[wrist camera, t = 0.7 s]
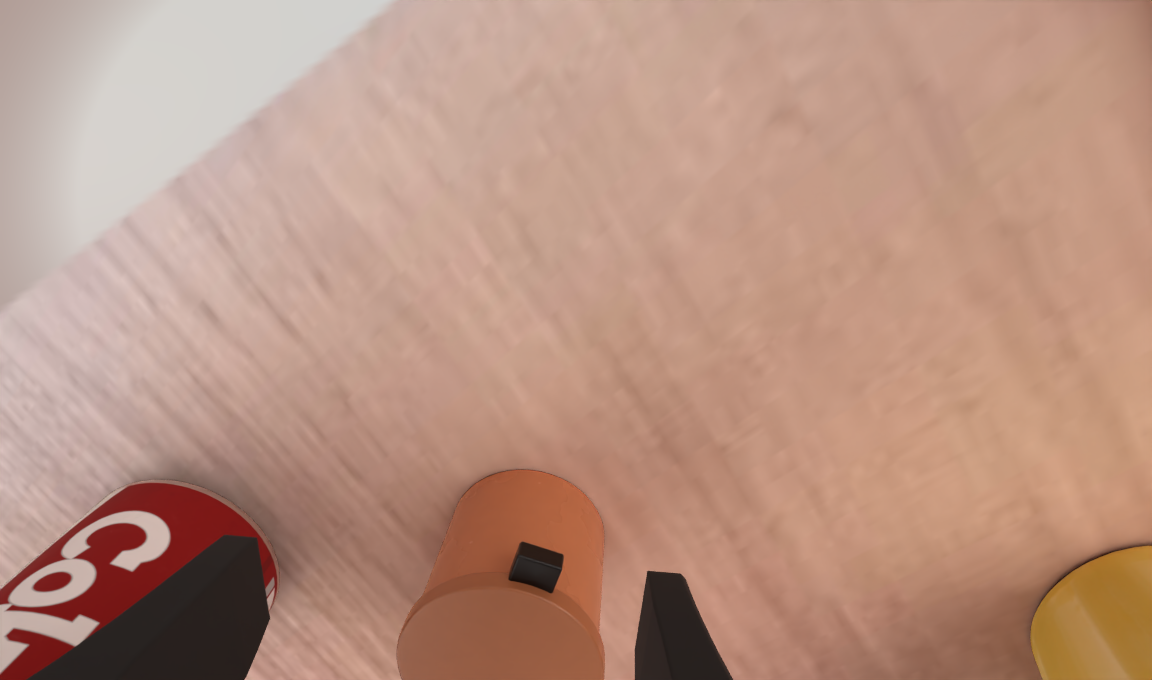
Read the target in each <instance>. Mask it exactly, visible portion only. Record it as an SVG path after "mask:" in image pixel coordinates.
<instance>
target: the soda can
mask: <svg viewBox="0 0 1152 680" xmlns="http://www.w3.org/2000/svg"><path fill="white" fill-rule="evenodd" d="M223 535H234V536H246V537H257V539H258V545H259V552H260V558H261V565H262V571H263V577H264V584H265V590H266V596H267V603H268V609H269V610H270V609H271V607H272V605H273V604H274V602H275V599H276V597H277V594H278V589H279V583H280V572H279V566H278V562H277V558H276V555H275V553H274V550H273V548H272V546H271V544H270V542H269V540H268V539H267V537H266V536H265V534H264V533H263V531H262V530H261V529H260V527H259V526H258V525H257V524H256V523H255V522H254V521H253V520H252V519H251V518H250V517H249V516H248V515H247V514H246V513H245V512H244V511H242V510H241V509H240V508H239V507H237V506H236V505H235V504H233V503H232V502H230V501H229V500H227V499H225V498H224V497H222V496H220V495H218V494H216V493H214V492H212V491H210V490H207V489H205V488H202V487H199V486H196V485H193V484H189V483H185V482H180V481H174V480H144V481H138V482H134V483H131V484H127V485H125V486H123V487H121V488H118V489H117V490H115V491H113V492H112V493H110V494H109V495H108V496H106V497H105V498H104V499H103V500H102V501H100V502H99V503H98V504H97V505H96V506H95V507H93V508H92V509H91V510H90V511H89V512H88V513H87V514H85V515H84V516H83V517H82V518H81V519H80V520H78V521H77V522H76V523H75V524H74V525H73V526H71V527H70V528H69V529H68V530H67V531H66V532H65V533H63V534H62V535H61V536H60V537H59V538H58V539H56V540H55V541H54V542H53V543H52V544H51V545H49V546H48V547H47V548H46V549H45V550H44V551H42V552H41V553H40V554H39V555H38V556H37V557H36V558H34V559H33V560H32V561H31V562H30V563H29V564H27V565H26V566H25V567H24V568H23V569H22V570H20V571H19V572H18V573H17V574H16V575H15V576H13V577H12V578H11V579H10V580H9V581H8V582H7V583H5V584H4V585H3V586H2V587H1V588H0V680H26V679H28V678H29V677H31V676H32V675H34V674H35V673H37V672H39V671H40V670H42V669H43V668H45V667H46V666H48V665H49V664H51V663H52V662H54V661H55V660H57V659H58V658H60V657H61V656H62V655H64V654H65V653H67V652H68V651H70V650H71V649H72V648H74V647H75V646H77V645H78V644H80V643H81V642H82V641H84V640H85V639H87V638H88V637H89V636H91V635H92V634H94V633H95V632H97V631H98V630H99V629H101V628H102V627H104V626H105V625H107V624H108V623H109V622H111V621H112V620H114V619H115V618H116V617H118V616H119V615H120V614H122V613H123V612H124V611H126V610H127V609H128V608H130V607H131V606H132V605H134V604H135V603H136V602H138V601H139V600H140V599H142V598H143V597H144V596H146V595H147V594H148V593H149V592H151V591H152V590H153V589H155V588H156V587H157V586H159V585H160V584H161V583H162V582H164V581H165V580H166V579H168V578H169V577H170V576H171V575H173V574H174V573H175V572H177V571H178V570H179V569H180V568H182V567H183V566H184V565H186V564H187V563H188V562H189V561H191V560H192V559H193V558H195V557H196V556H197V555H198V554H200V553H201V552H202V551H204V550H205V549H206V548H207V547H209V546H210V545H211V544H213V543H214V542H215V541H217V540H218V539H219V538H221V537H222V536H223Z"/></svg>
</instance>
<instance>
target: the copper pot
mask: <svg viewBox="0 0 1152 680" xmlns="http://www.w3.org/2000/svg"><path fill="white" fill-rule="evenodd" d="M603 555H604V529H603V524H602V521H601V518H600V516H599V514H598V511H597V509H596V508H595V507H594V505H593V504H592V502H591V501H590V500H589V499H588V497H587V496H586V495H585V494H584V493H583V492H581V491H580V490H579V489H578V488H577V487H575V486H574V485H572V484H571V483H569V482H567V481H565V480H563V479H561V478H559V477H557V476H554V475H551V474H548V473H544V472H540V471H533V470H510V471H505V472H500V473H497V474H494V475H491V476H489V477H487V478H484V479H482V480H481V481H479V482H478V483H476V484H475V485H473V486H472V487H471V488H470V489H469V490H468V491H467V492H466V493H465V494H464V495H463V497H462V498H461V500H460V501H459V503H458V505H457V507H456V510H455V512H454V515H453V517H452V520H451V522H450V525H449V528H448V530H447V533H446V536H445V538H444V541H443V544H442V546H441V549H440V551H439V554H438V557H437V559H436V562H435V565H434V567H433V570H432V573H431V575H430V578H429V580H428V583H427V586H426V588H425V591H424V594H423V596H422V597H421V598H420V599H419V600H418V601H417V602H416V603H415V605H414V606H413V607H412V609H411V610H410V612H409V614H408V615H407V618H406V620H405V623H404V625H403V628H402V630H401V633H400V636H399V639H398V644H397V663H398V669H399V672H400V675H401V678H402V680H604V669H605V652H604V646H603V642H602V639H601V636H600V634H599V626H600V608H601V591H602V573H603Z"/></svg>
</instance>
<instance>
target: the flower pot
mask: <svg viewBox="0 0 1152 680" xmlns="http://www.w3.org/2000/svg"><path fill="white" fill-rule="evenodd" d="M1030 640H1031V648H1032V652H1033V655H1034V658H1035V661H1036V663H1037V666H1038V669H1039V672H1040V674H1041V677H1042V680H1152V546H1141V547H1133V548H1129V549H1124V550H1120V551H1115V552H1112V553H1109V554H1107V555H1104V556H1102V557H1099V558H1097V559H1094V560H1092V561H1090V562H1088V563H1086V564H1084V565H1082V566H1081V567H1079V568H1077V569H1075V570H1074V571H1072V572H1071V573H1070V574H1068V575H1067V576H1066V577H1064V578H1063V579H1062V580H1061V581H1060V582H1059V583H1057V584H1056V585H1055V586H1054V587H1053V588H1052V589H1051V590H1050V591H1049V592H1048V594H1047V595H1046V596H1045V598H1044V599H1043V600H1042V602H1041V603H1040V605H1039V607H1038V609H1037V611H1036V613H1035V615H1034V618H1033V621H1032V625H1031V637H1030Z"/></svg>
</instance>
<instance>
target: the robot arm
mask: <svg viewBox="0 0 1152 680" xmlns="http://www.w3.org/2000/svg"><path fill="white" fill-rule="evenodd" d="M269 620H270V615H269V609H268V603H267V596H266V590H265V584H264V577H263V571H262V565H261V558H260V552H259V545H258V539H257V537H246V536H234V535H223V536H222V537H221V538H219V539H218V540H217V541H215V542H214V543H213V544H211V545H210V546H209V547H207V548H206V549H205V550H204V551H202V552H201V553H200V554H198V555H197V556H196V557H195V558H193V559H192V560H191V561H189V562H188V563H187V564H186V565H184V566H183V567H182V568H180V569H179V570H178V571H177V572H175V573H174V574H173V575H171V576H170V577H169V578H168V579H166V580H165V581H164V582H162V583H161V584H160V585H159V586H157V587H156V588H155V589H153V590H152V591H151V592H149V593H148V594H147V595H146V596H144V597H143V598H142V599H140V600H139V601H138V602H136V603H135V604H134V605H132V606H131V607H130V608H128V609H127V610H126V611H124V612H123V613H122V614H120V615H119V616H118V617H116V618H115V619H114V620H112V621H111V622H109V623H108V624H107V625H105V626H104V627H102V628H101V629H99V630H98V631H97V632H95V633H94V634H92V635H91V636H89V637H88V638H87V639H85V640H84V641H82V642H81V643H80V644H78V645H77V646H75V647H74V648H72V649H71V650H70V651H68V652H67V653H65V654H64V655H62V656H61V657H60V658H58V659H57V660H55V661H54V662H52V663H51V664H49V665H48V666H46V667H45V668H43V669H42V670H40V671H39V672H37V673H35V674H34V675H32V676H31V677H29V678H28V679H26V680H244V679H245V677H246V676H247V674H248V671H249V669H250V667H251V664H252V662H253V660H254V657H255V655H256V653H257V650H258V648H259V645H260V643H261V640H262V638H263V635H264V633H265V630H266V627H267V625H268V622H269ZM635 680H733V679H732V677H731V675H730V673H729V671H728V669H727V667H726V666H725V664H724V662H723V660H722V658H721V656H720V654H719V653H718V651H717V649H716V647H715V645H714V643H713V641H712V639H711V637H710V635H709V633H708V630H707V628H706V626H705V624H704V622H703V620H702V618H701V616H700V613H699V611H698V609H697V607H696V604H695V602H694V600H693V597H692V595H691V592H690V590H689V587H688V584H687V582H686V579H685V578H684V577H683V576H682V575H681V574H678V573H666V572H654V571H647V577H646V584H645V590H644V596H643V602H642V609H641V615H640V621H639V627H638V633H637V640H636V646H635Z"/></svg>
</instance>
